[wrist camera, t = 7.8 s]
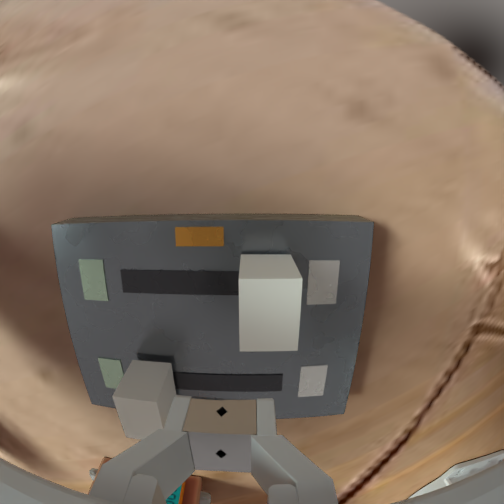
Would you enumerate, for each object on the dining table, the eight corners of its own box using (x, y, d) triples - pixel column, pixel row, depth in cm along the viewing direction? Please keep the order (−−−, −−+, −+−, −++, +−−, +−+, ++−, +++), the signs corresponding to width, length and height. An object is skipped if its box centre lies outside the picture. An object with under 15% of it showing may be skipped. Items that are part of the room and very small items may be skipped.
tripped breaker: (290, 254, 19) (302, 278, 15) (288, 314, 20) (297, 350, 16) (240, 254, 19) (238, 278, 15) (241, 315, 20) (239, 351, 16)
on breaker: (171, 362, 21) (156, 402, 17) (177, 403, 22) (166, 443, 18) (132, 359, 21) (112, 396, 16) (141, 399, 22) (126, 437, 17)
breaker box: (358, 215, 22) (374, 222, 19) (336, 392, 26) (344, 414, 23) (71, 218, 22) (50, 224, 19) (103, 385, 26) (91, 404, 23)
